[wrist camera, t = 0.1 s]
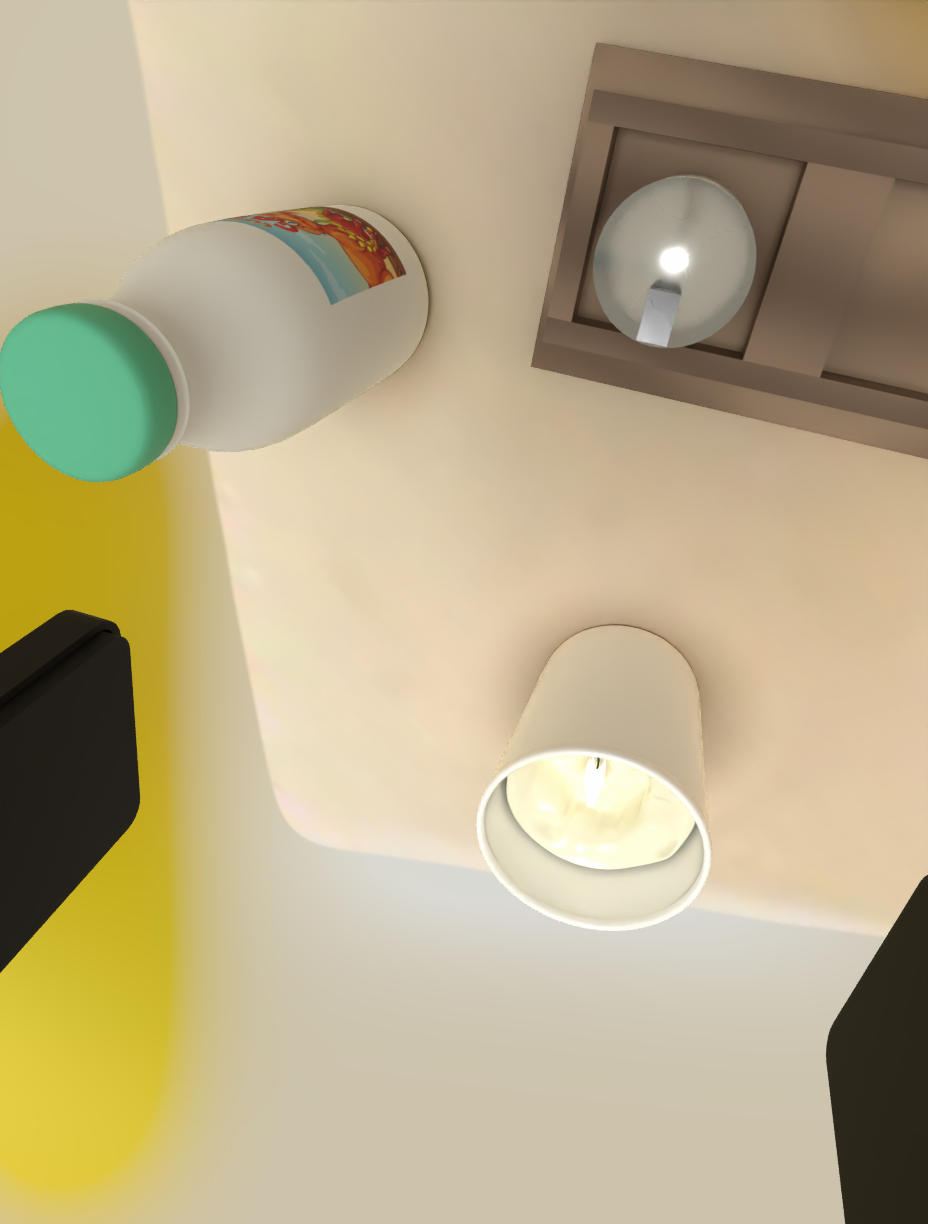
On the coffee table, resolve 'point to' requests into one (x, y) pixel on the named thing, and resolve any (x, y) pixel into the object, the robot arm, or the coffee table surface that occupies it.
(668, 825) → the white cup
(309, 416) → the milk bottle
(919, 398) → the brown cruet tray
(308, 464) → the coffee table surface
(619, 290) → the cylinder
